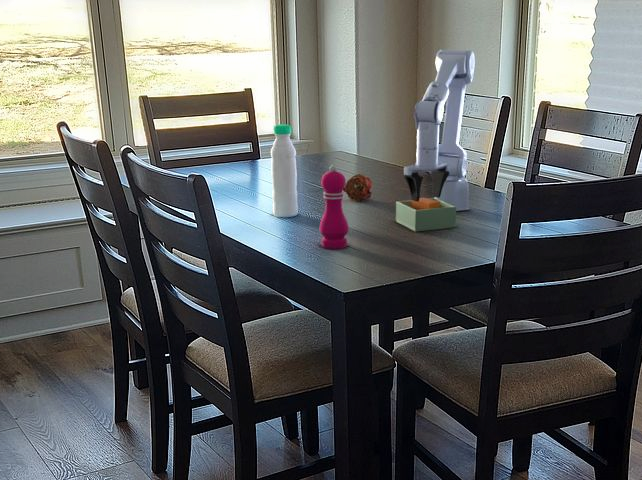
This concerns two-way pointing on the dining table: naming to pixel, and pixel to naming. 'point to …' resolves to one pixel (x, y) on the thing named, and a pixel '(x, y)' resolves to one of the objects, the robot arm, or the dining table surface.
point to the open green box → (426, 216)
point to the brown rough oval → (358, 187)
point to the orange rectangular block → (425, 204)
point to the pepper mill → (333, 210)
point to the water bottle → (284, 173)
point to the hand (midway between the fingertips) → (426, 198)
